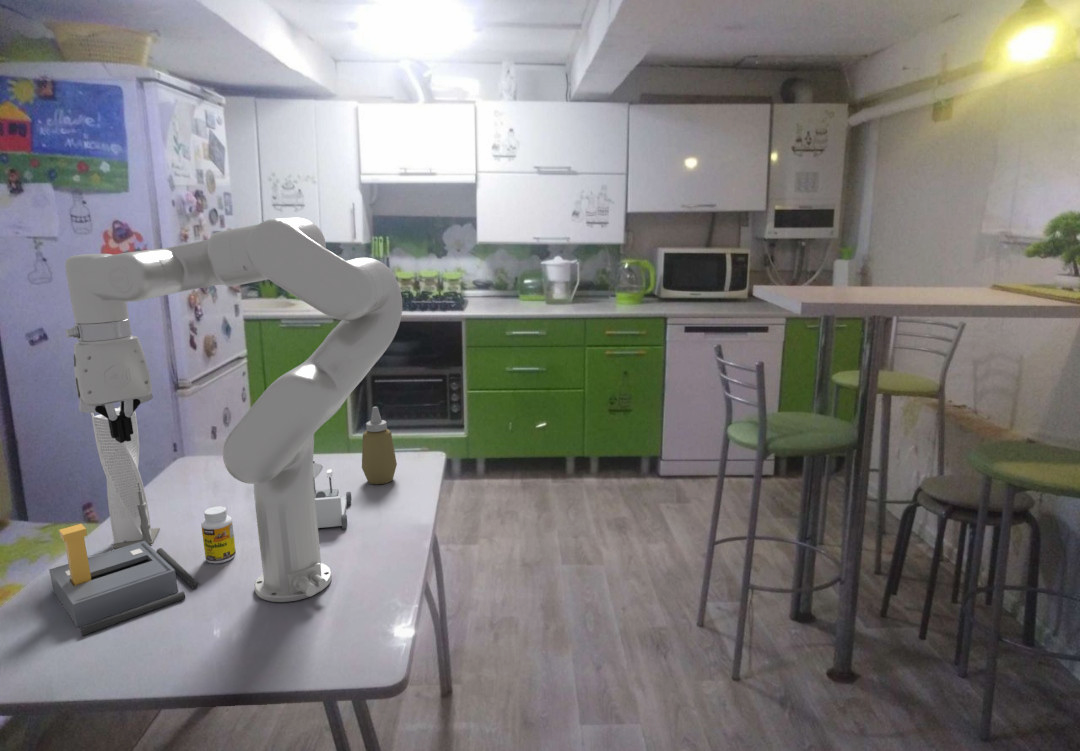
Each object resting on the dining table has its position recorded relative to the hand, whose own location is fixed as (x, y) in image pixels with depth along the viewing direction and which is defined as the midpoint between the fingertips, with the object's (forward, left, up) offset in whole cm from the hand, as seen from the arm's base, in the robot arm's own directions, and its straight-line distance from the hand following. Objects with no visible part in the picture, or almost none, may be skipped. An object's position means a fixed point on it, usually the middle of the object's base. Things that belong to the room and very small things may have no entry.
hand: (123, 440), depth 121 cm
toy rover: (+4, -36, -27) cm, 45 cm away
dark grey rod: (0, -5, -26) cm, 27 cm away
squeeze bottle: (+11, -55, -26) cm, 62 cm away
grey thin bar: (-11, +5, -26) cm, 29 cm away
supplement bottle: (-1, -13, -26) cm, 29 cm away
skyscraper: (+20, -4, -26) cm, 33 cm away
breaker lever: (0, +9, -23) cm, 25 cm away
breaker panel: (0, +5, -26) cm, 26 cm away
